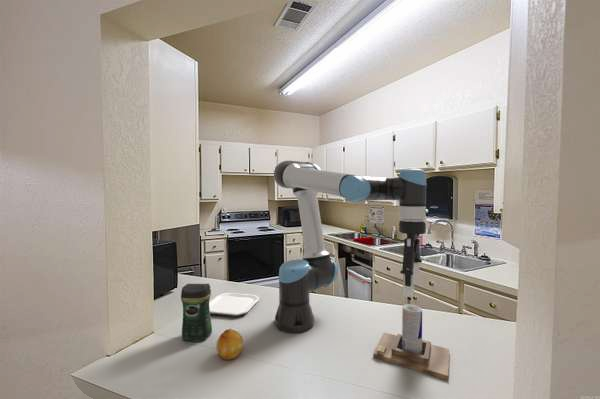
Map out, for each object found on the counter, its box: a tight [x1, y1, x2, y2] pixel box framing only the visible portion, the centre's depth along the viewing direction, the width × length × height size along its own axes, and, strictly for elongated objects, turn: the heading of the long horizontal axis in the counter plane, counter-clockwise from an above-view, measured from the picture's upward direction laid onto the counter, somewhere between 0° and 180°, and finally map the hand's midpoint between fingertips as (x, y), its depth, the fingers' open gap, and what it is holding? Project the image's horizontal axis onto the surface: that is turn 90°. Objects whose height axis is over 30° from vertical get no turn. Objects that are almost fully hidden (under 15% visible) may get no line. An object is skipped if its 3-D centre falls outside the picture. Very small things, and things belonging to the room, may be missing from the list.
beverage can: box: [401, 303, 423, 355], centre depth 81 cm, size 6×6×15 cm
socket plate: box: [372, 331, 450, 381], centre depth 82 cm, size 20×14×3 cm
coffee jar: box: [180, 283, 213, 342], centre depth 93 cm, size 10×8×19 cm
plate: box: [209, 292, 260, 317], centre depth 118 cm, size 21×21×2 cm
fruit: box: [216, 328, 244, 360], centre depth 83 cm, size 8×8×8 cm
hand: (411, 288), depth 82 cm, fingers open, 13 cm apart
